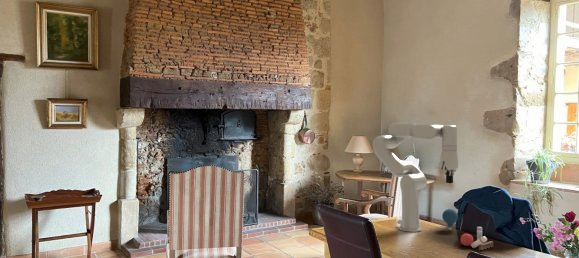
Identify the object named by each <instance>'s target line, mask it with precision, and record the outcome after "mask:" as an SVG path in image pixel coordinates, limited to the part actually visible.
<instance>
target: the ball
mask: <svg viewBox="0 0 579 258" xmlns="http://www.w3.org/2000/svg"><path fill="white" fill-rule="evenodd" d="M473 242H475V241H474V237H473V235H471V234H469V233H463V234H462V235H461V236H460V243H461V244H462V245H464V246H465V247H469V246H470V247H471V244H472V243H473Z"/></svg>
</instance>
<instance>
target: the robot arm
mask: <svg viewBox="0 0 579 258" xmlns="http://www.w3.org/2000/svg"><path fill="white" fill-rule="evenodd" d="M388 133H389V134H383V135H378V136H376V137H375V138H374V139H373V141H372V150H373V152H374V155H375V156H376V157H377V158H378V160H380V161H381V162H382V164H383V165H384V166H385V167H386V168H387V170H388V171H389V172H390V173H391V174H392V175H393V176H394V177H396V178H400V181H399V185H400V186H399V188H400V192H401V219H398V220H397V221H396V223H397V224H399V227H398V228H399V230H400V231H403V232H408V233H409V232H410V233H418V232H421V231H422V230H423V227H421V226H420V196H419V193H418V191H419V190H422V189H425V187H427V185H428V180H427V178H426V176H425V174H424V173H423V172H422V171H421V170H420V169H419V168H418V167H417V165H416V164H414V162H412V161H410V160H405V159H404V160H403V159H402V160H401V159H399V157H397V156H396V154H395V153H394V152H393V151H391V150H392V149H395V148H397V147H398V146H399V145H400V144H402V143H403V142H404V141H405V140H406V139H407V138H408V139H422V140H433V139H435V140H437V139H439V140H440V139H441V152H440V159H439V160H440V161H439V169H440V170H442V173H444V174H445V184H454V175H455V172H456V171H457V169H458V167H459V158H458V128H457V126H456V125H453V124H451V125H450V124H449V125H447V124H446V125H445V124H444V125H443V124H417V123H413V122H392V123H391V124H390V125H389V127H388ZM389 149H390V150H389Z"/></svg>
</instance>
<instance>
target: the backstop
mask: <svg viewBox="0 0 579 258" xmlns="http://www.w3.org/2000/svg"><path fill="white" fill-rule="evenodd" d="M490 247H491V248H494V241H492V240H491V241H486V242H484V243H482V244H481V245H479V246H478V251H480V250H482V251H485V250H488V249H491V248H490ZM487 248H488V249H487ZM484 249H485V250H484Z"/></svg>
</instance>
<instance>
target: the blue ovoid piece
mask: <svg viewBox="0 0 579 258" xmlns="http://www.w3.org/2000/svg"><path fill="white" fill-rule="evenodd" d="M441 216H442V220H443V222H444V223H445V224H446V225H447V229H448V230H449V231H452V230H453V229H452V228H453V225H454V224H455V223H456V222H457V221H458V218H459V216H458V213H457V211H456V210H454V209H451V208H448V209H445V210H444V211H443V213H442V214H441Z"/></svg>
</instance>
